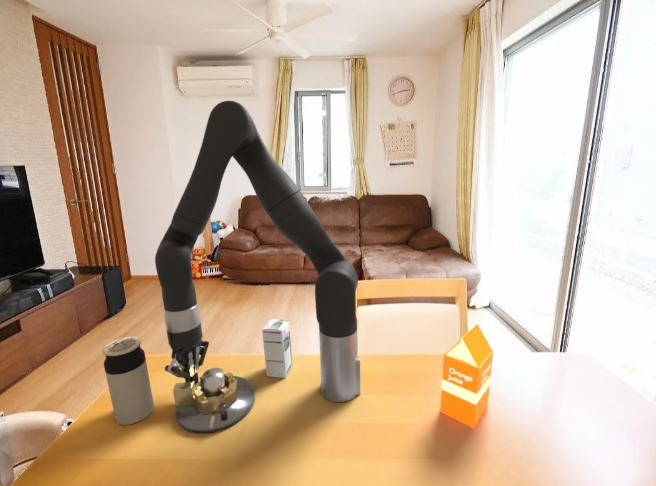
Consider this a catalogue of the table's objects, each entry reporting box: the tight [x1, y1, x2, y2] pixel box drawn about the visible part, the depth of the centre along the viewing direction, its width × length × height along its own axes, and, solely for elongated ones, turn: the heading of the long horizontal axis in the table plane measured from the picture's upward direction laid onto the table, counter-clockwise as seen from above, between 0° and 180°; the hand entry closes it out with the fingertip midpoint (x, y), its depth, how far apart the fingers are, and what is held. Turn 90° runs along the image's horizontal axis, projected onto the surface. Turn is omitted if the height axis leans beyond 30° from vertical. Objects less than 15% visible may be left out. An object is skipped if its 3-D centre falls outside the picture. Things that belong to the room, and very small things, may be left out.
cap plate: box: [175, 367, 256, 435], centre depth 80 cm, size 18×18×8 cm
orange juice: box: [440, 323, 494, 429], centre depth 75 cm, size 8×9×20 cm
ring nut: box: [172, 371, 238, 415], centre depth 80 cm, size 14×10×4 cm
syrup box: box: [261, 318, 293, 379], centre depth 91 cm, size 6×6×14 cm
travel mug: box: [101, 336, 155, 426], centre depth 77 cm, size 8×8×18 cm
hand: (192, 386), depth 83 cm, fingers closed
